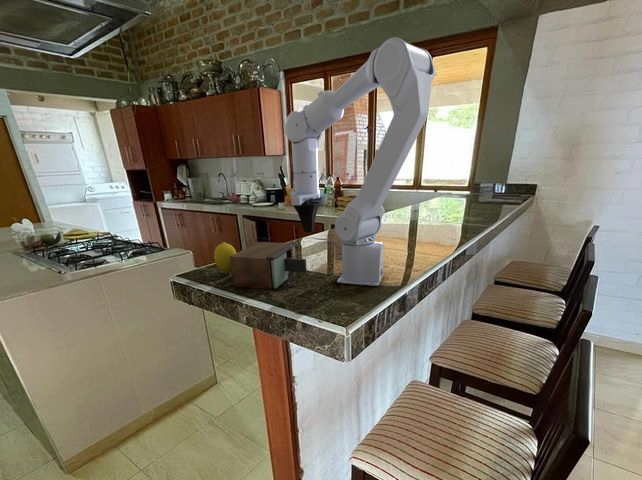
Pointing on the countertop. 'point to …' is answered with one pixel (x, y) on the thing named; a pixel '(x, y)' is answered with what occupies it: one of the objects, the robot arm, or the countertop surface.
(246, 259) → the cabinet
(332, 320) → the countertop surface
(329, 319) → the countertop surface
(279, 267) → the sliding door
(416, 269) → the countertop surface
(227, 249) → the lemon
